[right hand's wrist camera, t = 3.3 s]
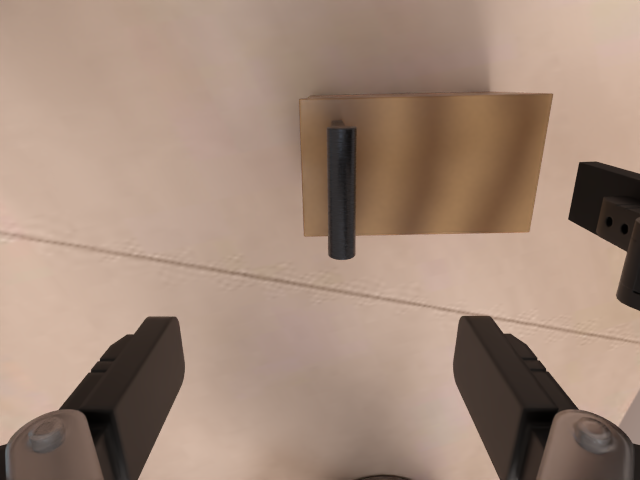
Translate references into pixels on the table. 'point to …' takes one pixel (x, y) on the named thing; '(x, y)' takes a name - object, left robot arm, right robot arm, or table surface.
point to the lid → (420, 165)
